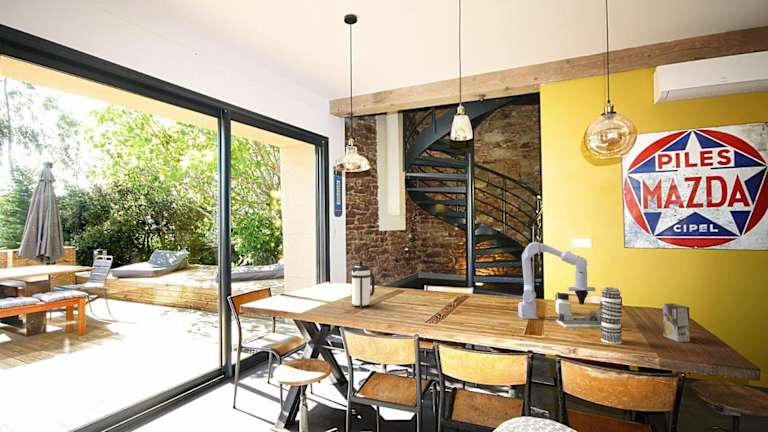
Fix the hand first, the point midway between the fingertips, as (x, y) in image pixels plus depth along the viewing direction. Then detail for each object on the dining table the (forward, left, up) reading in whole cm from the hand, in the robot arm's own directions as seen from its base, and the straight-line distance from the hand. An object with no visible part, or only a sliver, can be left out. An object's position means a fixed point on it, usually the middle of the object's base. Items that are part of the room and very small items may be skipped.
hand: (581, 304), depth 213 cm
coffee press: (-124, +41, -11) cm, 131 cm away
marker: (+3, -3, -9) cm, 10 cm away
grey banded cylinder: (-1, -31, -11) cm, 33 cm away
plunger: (-8, -3, -9) cm, 13 cm away
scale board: (-3, -3, -11) cm, 11 cm away
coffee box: (+32, -27, -11) cm, 43 cm away
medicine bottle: (0, +22, -11) cm, 25 cm away
